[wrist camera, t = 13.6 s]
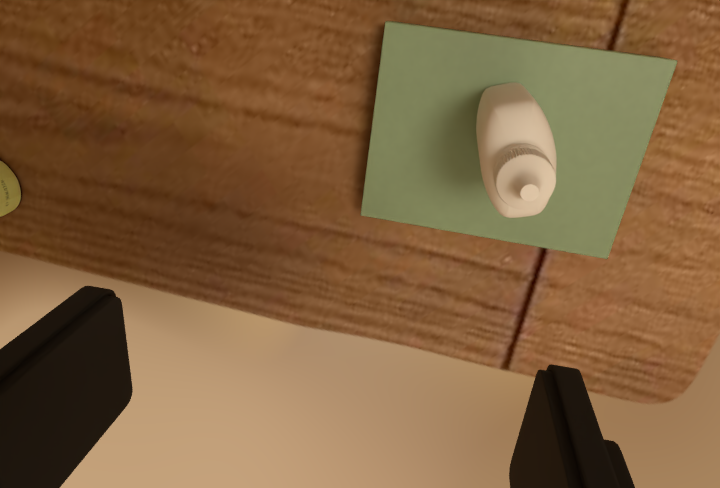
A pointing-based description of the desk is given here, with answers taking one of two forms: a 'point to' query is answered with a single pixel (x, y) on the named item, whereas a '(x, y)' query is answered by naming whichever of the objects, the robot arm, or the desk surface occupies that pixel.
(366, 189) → the board
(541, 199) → the eye dropper bottle
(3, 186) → the tube
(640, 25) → the desk surface
